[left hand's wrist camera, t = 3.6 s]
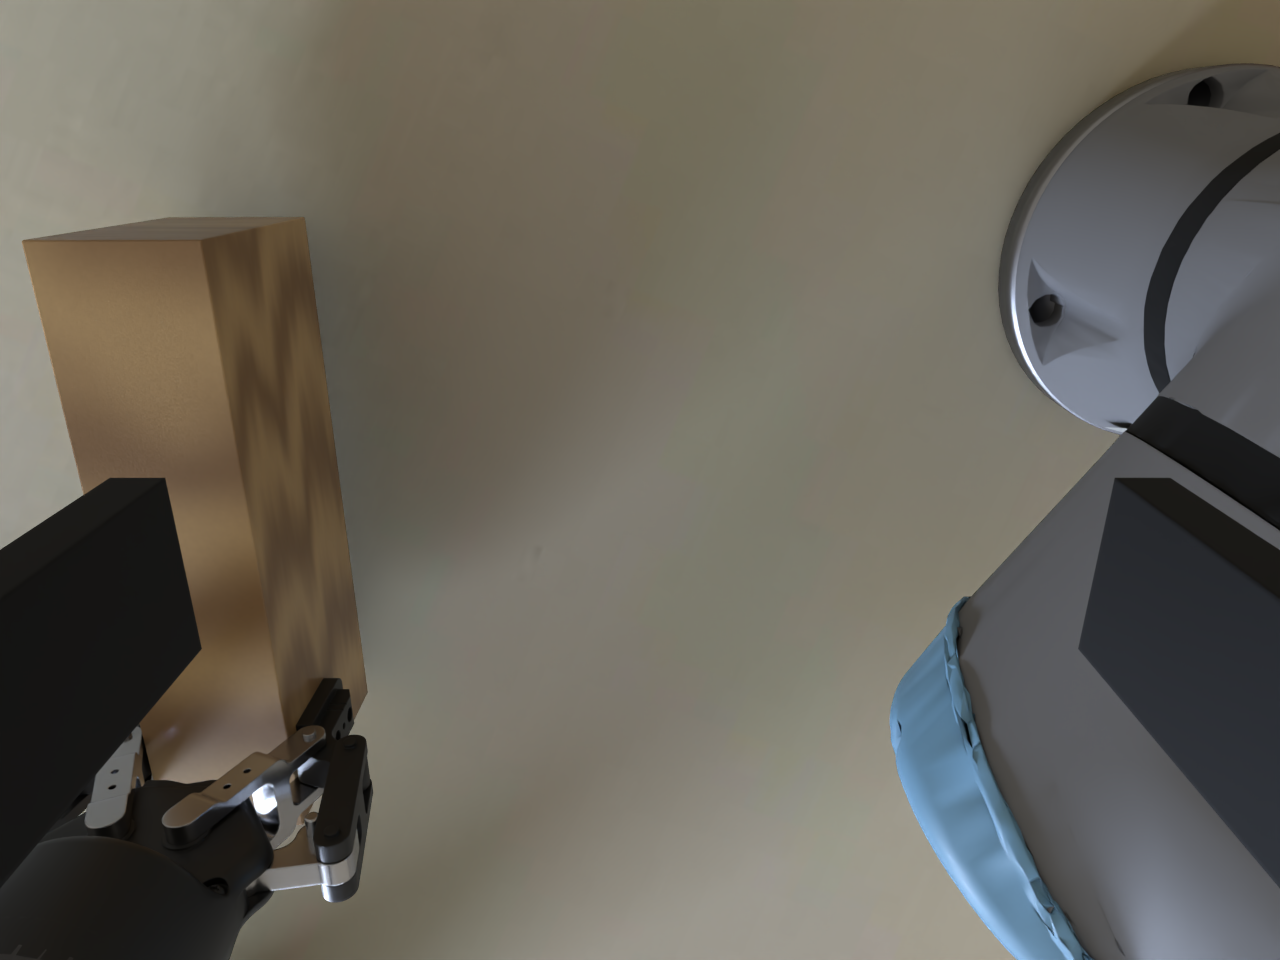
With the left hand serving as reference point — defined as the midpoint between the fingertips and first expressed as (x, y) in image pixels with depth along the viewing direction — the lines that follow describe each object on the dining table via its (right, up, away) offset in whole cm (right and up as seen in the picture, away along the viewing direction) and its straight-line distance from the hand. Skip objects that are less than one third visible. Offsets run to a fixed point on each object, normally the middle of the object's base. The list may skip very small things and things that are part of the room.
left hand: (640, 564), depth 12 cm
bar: (-17, +1, +28) cm, 33 cm away
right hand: (-17, -8, +26) cm, 32 cm away
